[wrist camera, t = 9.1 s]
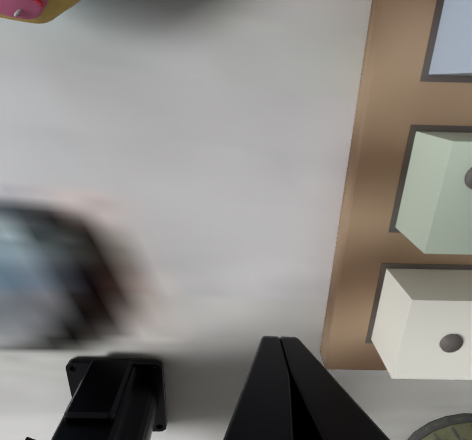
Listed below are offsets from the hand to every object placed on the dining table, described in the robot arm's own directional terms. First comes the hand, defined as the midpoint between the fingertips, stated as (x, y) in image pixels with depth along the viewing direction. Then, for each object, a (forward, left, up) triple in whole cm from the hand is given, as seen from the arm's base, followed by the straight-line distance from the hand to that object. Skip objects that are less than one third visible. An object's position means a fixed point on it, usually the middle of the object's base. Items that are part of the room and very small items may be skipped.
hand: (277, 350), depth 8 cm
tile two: (+2, -10, -10) cm, 14 cm away
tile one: (-6, -10, -10) cm, 16 cm away
